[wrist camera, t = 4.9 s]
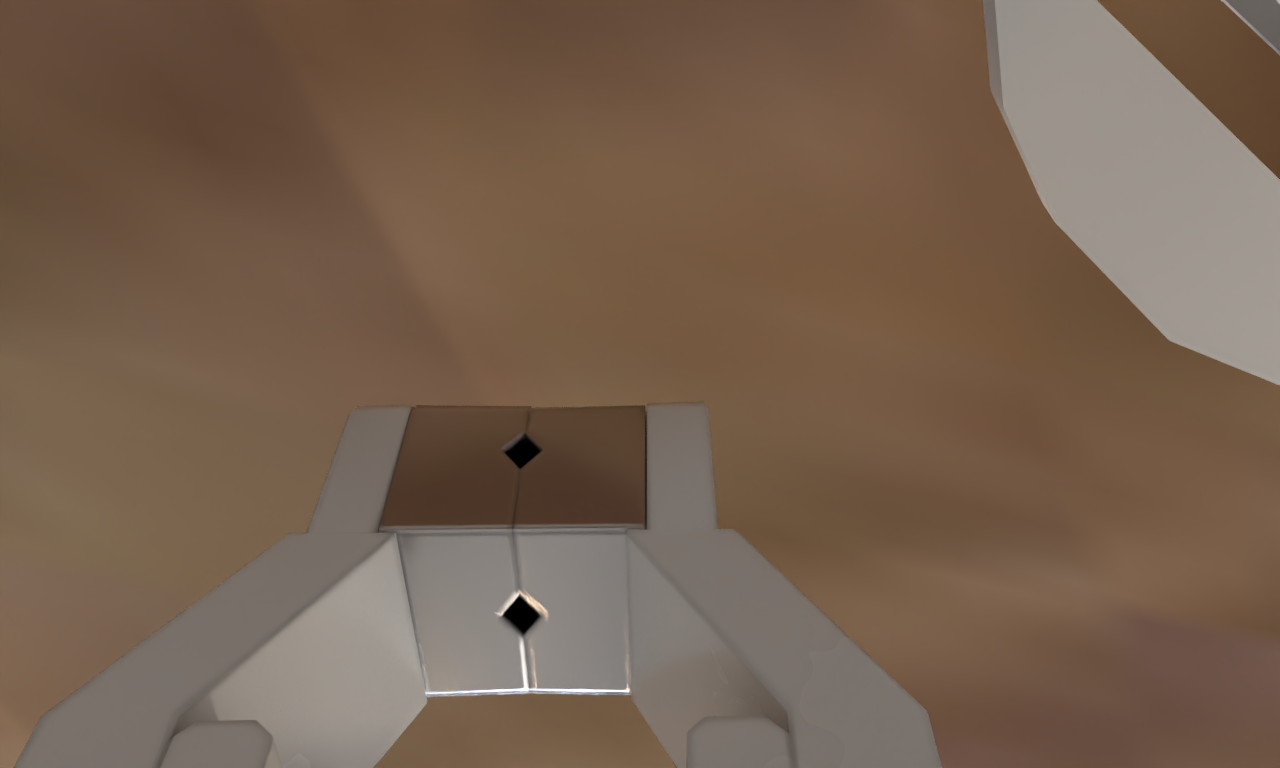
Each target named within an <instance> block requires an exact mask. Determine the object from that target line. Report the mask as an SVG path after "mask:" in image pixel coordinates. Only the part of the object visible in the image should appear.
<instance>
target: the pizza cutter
mask: <svg viewBox="0 0 1280 768" xmlns="http://www.w3.org/2000/svg"><path fill="white" fill-rule="evenodd" d="M1221 1H1222V2H1224V3H1225V4H1226V5H1227V6H1228V7H1229V8H1230V9H1231V10H1232V11H1233V12H1234V13H1235V14H1236V15H1237V16H1238V17H1240V18H1241V19H1242V20H1243V21H1244V22H1245V23H1246V24H1247V25H1248V26H1249V27H1250V28H1251V29H1252V30H1253V31H1254V32H1256V33H1257V34H1258V35H1259V36H1260V37H1261V38H1262V39H1263V40H1264V41H1265V42H1266V43H1267V44H1268V45H1269V46H1270V47H1272V48H1273V49H1274V50H1275V51H1276V52H1277V53H1278V54H1279V55H1280V0H1221ZM983 10H984V22H985V33H986V45H987V56H988V68H989V79H990V90H991V92H992V94H993V97H994V99H995V101H996V103H997V105H998V108H999V110H1000V112H1001V114H1002V116H1003V118H1004V121H1005V123H1006V125H1007V127H1008V129H1009V132H1010V134H1011V136H1012V138H1013V140H1014V142H1015V145H1016V147H1017V149H1018V151H1019V153H1020V156H1021V158H1022V160H1023V162H1024V164H1025V166H1026V169H1027V171H1028V173H1029V175H1030V177H1031V180H1032V182H1033V184H1034V186H1035V188H1036V190H1037V193H1038V195H1039V197H1040V199H1041V201H1042V203H1043V205H1044V206H1045V208H1046V209H1047V211H1048V212H1049V214H1050V215H1051V217H1052V218H1053V220H1054V221H1055V223H1056V224H1057V225H1058V226H1059V227H1060V228H1061V229H1062V230H1063V231H1064V232H1065V233H1066V234H1067V235H1068V236H1069V237H1070V239H1071V240H1072V241H1073V242H1074V243H1075V244H1076V245H1077V246H1078V247H1079V248H1080V249H1081V250H1082V251H1083V252H1084V253H1085V254H1086V255H1087V256H1088V257H1089V258H1090V259H1091V260H1092V261H1093V262H1094V263H1095V264H1096V265H1097V266H1098V267H1099V269H1100V270H1101V271H1102V272H1103V273H1104V274H1105V275H1106V276H1107V277H1108V278H1109V279H1110V280H1111V281H1112V282H1113V283H1114V284H1115V285H1116V286H1117V287H1118V288H1119V289H1120V290H1121V291H1122V292H1123V293H1124V294H1125V295H1126V296H1127V297H1128V299H1129V300H1130V301H1131V302H1132V303H1133V304H1134V305H1135V306H1136V307H1137V308H1138V309H1139V310H1140V311H1141V312H1142V313H1143V314H1144V315H1145V316H1146V317H1147V318H1148V319H1149V320H1150V321H1151V322H1152V323H1153V324H1154V325H1155V326H1156V327H1157V329H1158V330H1159V331H1160V332H1161V333H1162V334H1163V335H1164V336H1165V337H1166V338H1167V339H1168V340H1169V341H1171V342H1174V343H1176V344H1179V345H1181V346H1184V347H1186V348H1188V349H1191V350H1193V351H1196V352H1198V353H1201V354H1203V355H1206V356H1208V357H1211V358H1213V359H1216V360H1218V361H1221V362H1223V363H1226V364H1228V365H1230V366H1233V367H1235V368H1238V369H1240V370H1243V371H1245V372H1248V373H1250V374H1253V375H1255V376H1258V377H1260V378H1263V379H1265V380H1267V381H1270V382H1272V383H1275V384H1277V385H1280V180H1279V179H1278V178H1277V177H1276V176H1275V175H1274V174H1273V173H1272V172H1271V171H1270V170H1269V169H1268V168H1267V167H1266V166H1265V165H1264V164H1263V163H1262V162H1261V161H1260V160H1259V159H1258V158H1257V157H1256V156H1255V155H1254V154H1253V153H1252V152H1251V151H1250V150H1249V149H1248V148H1247V147H1246V146H1245V145H1244V144H1243V143H1242V142H1241V141H1240V140H1239V139H1238V138H1237V137H1236V136H1235V135H1234V134H1233V133H1232V132H1231V131H1230V130H1229V129H1228V128H1227V127H1226V126H1224V125H1223V124H1222V123H1221V122H1220V121H1219V120H1218V119H1217V118H1216V117H1215V116H1214V115H1213V114H1212V113H1211V112H1210V111H1209V110H1208V109H1207V108H1206V107H1205V106H1204V105H1203V104H1202V103H1201V102H1200V101H1199V100H1198V99H1197V98H1196V97H1195V96H1194V95H1193V94H1192V93H1191V92H1190V91H1189V90H1188V89H1187V88H1186V87H1185V86H1184V85H1183V84H1182V83H1181V82H1180V81H1179V80H1178V79H1177V78H1176V77H1175V76H1174V75H1173V74H1172V73H1170V72H1169V71H1168V70H1167V69H1166V68H1165V67H1164V66H1163V65H1162V64H1161V63H1160V62H1159V61H1158V60H1157V59H1156V58H1155V57H1154V56H1153V55H1152V54H1151V53H1150V52H1149V51H1148V50H1147V49H1146V48H1145V47H1144V46H1143V45H1142V44H1141V43H1140V42H1139V41H1138V40H1137V39H1136V38H1135V37H1134V36H1133V35H1132V34H1131V33H1130V32H1129V31H1128V30H1127V29H1126V28H1125V27H1124V26H1123V25H1122V24H1121V23H1120V22H1119V21H1118V20H1116V19H1115V18H1114V17H1113V16H1112V15H1111V14H1110V13H1109V12H1108V11H1107V10H1106V9H1105V8H1104V7H1103V6H1102V5H1101V4H1100V3H1099V2H1098V1H1097V0H983Z"/></svg>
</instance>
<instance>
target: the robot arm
mask: <svg viewBox="0 0 1280 768" xmlns="http://www.w3.org/2000/svg"><path fill="white" fill-rule="evenodd" d="M646 445H647V458H646ZM524 693H537V694H594V695H632V701H633V703H634V704H635V706H636V707H637V709H638V710H639V712H640V713H641V715H642V716H643V718H644V719H645V721H646V722H647V724H648V725H649V727H650V728H651V730H652V731H653V733H654V734H655V736H656V737H657V739H658V740H659V742H660V743H661V745H662V746H663V748H664V749H665V751H666V752H667V754H668V755H669V757H670V759H671V760H672V762H673V763H674V765H675V766H676V768H942V767H941V763H940V759H939V755H938V752H937V748H936V744H935V740H934V736H933V732H932V728H931V724H930V720H929V716H928V712H927V710H925V709H924V708H923V707H922V706H921V705H920V704H919V703H918V702H917V701H916V700H915V699H914V698H913V697H912V696H911V695H910V694H909V693H908V692H907V691H905V690H904V689H903V688H902V687H901V686H900V685H899V684H898V683H897V682H896V681H895V680H894V679H893V678H892V677H891V676H890V675H889V674H888V673H887V672H886V671H884V670H883V669H882V668H881V667H880V666H879V665H878V664H877V663H876V662H875V661H874V660H873V659H872V658H871V657H870V656H869V655H868V654H867V653H866V652H864V651H863V650H862V649H861V648H860V647H859V646H858V645H857V644H856V643H855V642H854V641H853V640H852V639H851V638H850V637H849V636H848V635H847V634H846V633H845V632H843V631H842V630H841V629H840V628H839V627H838V626H837V625H836V624H835V623H834V622H833V621H832V620H831V619H830V618H829V617H828V616H827V615H826V614H825V613H823V612H822V611H821V610H820V609H819V608H818V607H817V606H816V605H815V604H814V603H813V602H812V601H811V600H810V599H809V598H808V597H807V596H806V595H805V594H804V593H802V592H801V591H800V590H799V589H798V588H797V587H796V586H795V585H794V584H793V583H792V582H791V581H790V580H789V579H788V578H787V577H786V576H785V575H784V574H782V573H781V572H780V571H779V570H778V569H777V568H776V567H775V566H774V565H773V564H772V563H771V562H770V561H769V560H768V559H767V558H766V557H765V556H764V555H762V554H761V553H760V552H759V551H758V550H757V549H756V548H755V547H754V546H753V545H752V544H751V543H750V542H749V541H748V540H747V539H746V538H745V537H744V536H743V535H741V534H740V533H739V532H738V531H737V530H736V529H718V520H717V508H716V496H715V484H714V472H713V460H712V447H711V435H710V423H709V411H708V407H707V405H706V404H705V402H704V401H699V402H674V403H650V404H647V413H646V412H645V406H590V407H535V408H532V407H531V406H434V405H417V406H416V407H413V406H410V405H403V406H357V407H356V408H355V409H354V410H353V411H352V412H351V413H350V414H349V415H348V416H347V419H346V422H345V425H344V428H343V430H342V433H341V436H340V439H339V442H338V445H337V447H336V450H335V453H334V456H333V459H332V461H331V464H330V467H329V470H328V473H327V476H326V478H325V481H324V484H323V487H322V490H321V492H320V495H319V498H318V501H317V504H316V507H315V509H314V512H313V515H312V518H311V521H310V523H309V526H308V529H307V532H306V533H289V534H287V535H286V536H284V537H283V538H282V539H280V540H279V541H278V542H276V543H275V544H274V545H272V546H271V547H270V548H268V549H267V550H266V551H264V552H263V553H261V554H260V555H259V556H257V557H256V558H255V559H253V560H252V561H251V562H249V563H248V564H247V565H245V566H244V567H243V568H241V569H240V570H239V571H237V572H236V573H234V574H233V575H232V576H230V577H229V578H228V579H226V580H225V581H224V582H222V583H221V584H220V585H218V586H217V587H216V588H214V589H213V590H211V591H210V592H209V593H207V594H206V595H205V596H203V597H202V598H201V599H199V600H198V601H197V602H195V603H194V604H193V605H191V606H190V607H189V608H187V609H186V610H184V611H183V612H182V613H180V614H179V615H178V616H176V617H175V618H174V619H172V620H171V621H170V622H168V623H167V624H166V625H164V626H163V627H161V628H160V629H159V630H157V631H156V632H155V633H153V634H152V635H151V636H149V637H148V638H147V639H145V640H144V641H143V642H141V643H140V644H139V645H137V646H136V647H134V648H133V649H132V650H130V651H129V652H128V653H126V654H125V655H124V656H122V657H121V658H120V659H118V660H117V661H116V662H114V663H113V664H111V665H110V666H109V667H107V668H106V669H105V670H103V671H102V672H101V673H99V674H98V675H97V676H95V677H94V678H93V679H91V680H90V681H89V682H87V683H86V684H84V685H83V686H82V687H80V688H79V689H78V690H76V691H75V692H74V693H72V694H71V695H70V696H68V697H67V698H66V699H64V700H63V701H61V702H60V703H59V704H57V705H56V706H55V707H53V708H52V709H51V710H49V711H48V712H47V713H45V714H44V715H43V716H41V717H40V719H39V721H38V723H37V725H36V727H35V729H34V730H33V732H32V734H31V736H30V738H29V740H28V742H27V744H26V745H25V747H24V749H23V751H22V753H21V755H20V757H19V759H18V760H17V762H16V764H15V766H14V768H374V766H375V765H376V764H377V763H378V762H379V760H380V759H381V758H382V757H383V756H384V754H385V753H386V752H387V751H388V750H389V748H390V747H391V746H392V745H393V744H394V742H395V741H396V740H397V739H398V738H399V736H400V735H401V734H402V733H403V732H404V730H405V729H406V728H407V727H408V726H409V724H410V723H411V722H412V721H413V720H414V718H415V717H416V716H417V715H418V714H419V712H420V711H421V710H422V709H423V708H424V706H425V705H426V704H427V698H426V697H440V696H468V695H496V694H524Z"/></svg>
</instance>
